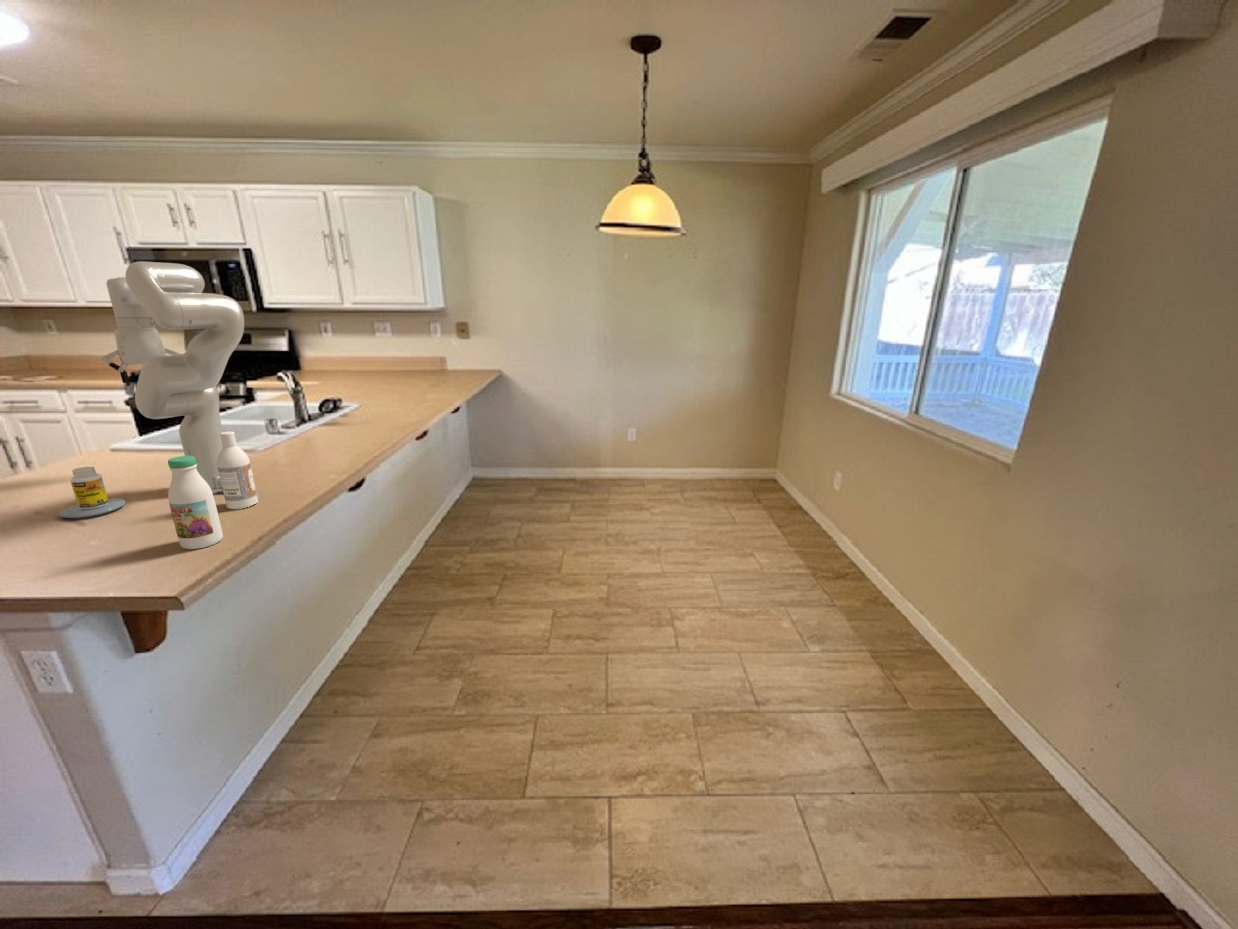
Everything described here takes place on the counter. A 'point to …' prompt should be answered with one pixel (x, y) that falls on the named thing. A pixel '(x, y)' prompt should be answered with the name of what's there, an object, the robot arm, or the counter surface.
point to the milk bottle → (192, 505)
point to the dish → (92, 510)
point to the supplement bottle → (88, 488)
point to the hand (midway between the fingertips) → (150, 383)
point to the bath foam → (235, 474)
